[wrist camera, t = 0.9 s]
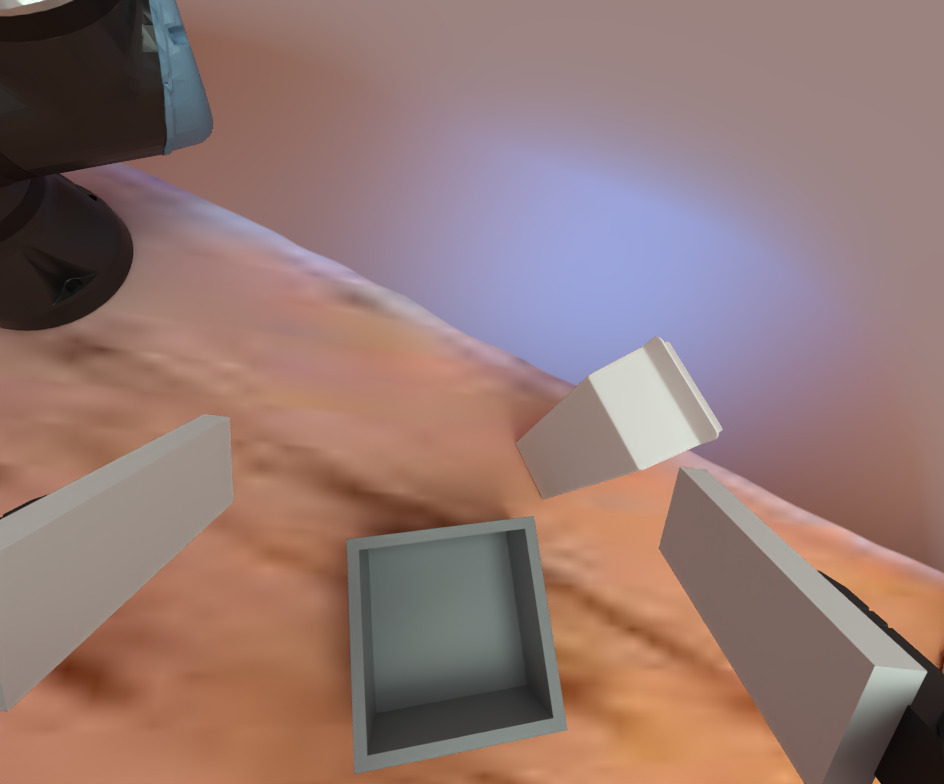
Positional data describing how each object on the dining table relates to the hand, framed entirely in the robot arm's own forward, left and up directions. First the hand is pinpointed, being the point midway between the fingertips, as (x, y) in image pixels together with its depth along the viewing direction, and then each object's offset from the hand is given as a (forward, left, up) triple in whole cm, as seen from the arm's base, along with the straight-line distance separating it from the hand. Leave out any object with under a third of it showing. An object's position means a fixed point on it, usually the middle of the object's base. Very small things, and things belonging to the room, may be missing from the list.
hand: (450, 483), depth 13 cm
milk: (-4, +13, -28) cm, 32 cm away
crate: (+8, +1, -28) cm, 29 cm away
